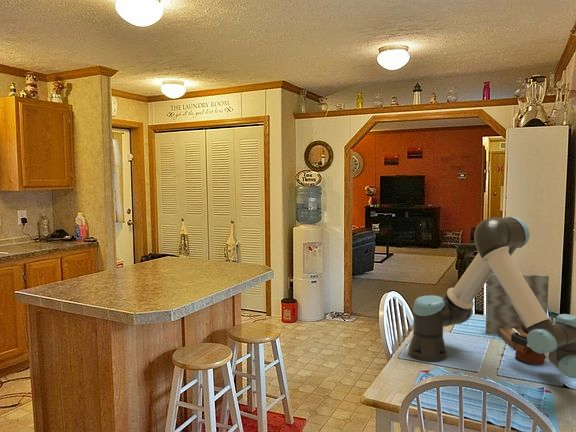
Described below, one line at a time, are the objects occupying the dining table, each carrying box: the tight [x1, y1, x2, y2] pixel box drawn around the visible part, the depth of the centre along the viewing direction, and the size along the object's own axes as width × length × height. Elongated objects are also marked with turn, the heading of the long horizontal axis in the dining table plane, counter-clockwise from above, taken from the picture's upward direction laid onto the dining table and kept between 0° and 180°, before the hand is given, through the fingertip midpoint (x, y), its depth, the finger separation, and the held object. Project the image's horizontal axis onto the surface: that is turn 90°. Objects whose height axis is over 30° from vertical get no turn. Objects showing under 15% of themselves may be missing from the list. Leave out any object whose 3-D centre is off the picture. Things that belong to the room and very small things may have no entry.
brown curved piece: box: [514, 323, 546, 365], centre depth 186 cm, size 15×11×20 cm
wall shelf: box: [485, 273, 550, 351], centre depth 205 cm, size 26×22×28 cm
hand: (530, 332), depth 187 cm, fingers open, 13 cm apart
